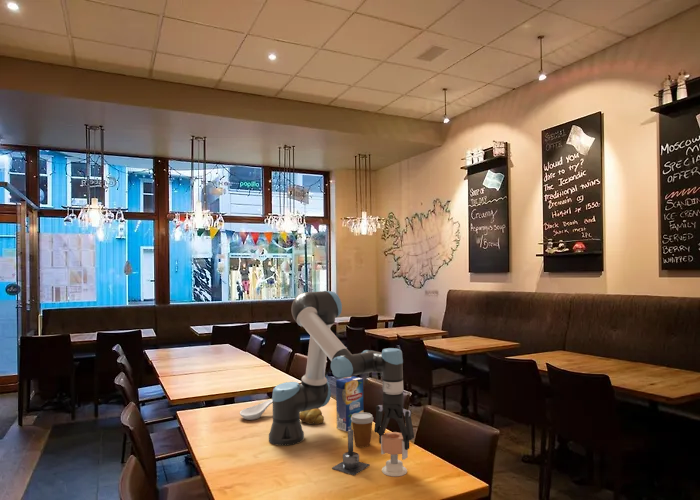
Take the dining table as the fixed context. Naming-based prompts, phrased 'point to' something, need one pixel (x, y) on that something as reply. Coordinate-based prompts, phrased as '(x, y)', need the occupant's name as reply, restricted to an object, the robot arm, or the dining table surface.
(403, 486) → the dining table surface
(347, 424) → the beverage box
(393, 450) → the collar
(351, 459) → the stand
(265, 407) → the spoon rest
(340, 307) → the robot arm
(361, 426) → the disposable coffee cup
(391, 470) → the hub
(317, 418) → the bread roll
